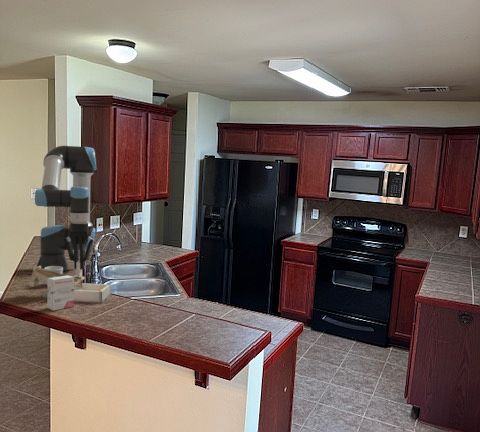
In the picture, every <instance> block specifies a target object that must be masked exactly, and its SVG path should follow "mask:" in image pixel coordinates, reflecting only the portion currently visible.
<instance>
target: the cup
mask: <svg viewBox="0 0 480 432" xmlns="http://www.w3.org/2000/svg"><path fill="white" fill-rule="evenodd" d="M44 269H45V270H49V271H52V272H56V273H59V274H64V271H63V267H61V266H49V267H45V268H44ZM42 280H43V282H44V283H45V285H46V286H48V280H44V279H42Z"/></svg>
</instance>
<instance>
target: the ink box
mask: <svg viewBox="0 0 480 432" xmlns="http://www.w3.org/2000/svg"><path fill="white" fill-rule="evenodd" d="M46 292H47V293H46V294H47V299H46V301H47V306H46V307H47V309H49V310H50V311H58V310H63V309H69V308H73V307H74V306H75V303H74V302H75V301H74V277H73V276H72V275H67V276H60V277H53V278H48V285H47V291H46Z"/></svg>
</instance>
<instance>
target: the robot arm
mask: <svg viewBox="0 0 480 432" xmlns="http://www.w3.org/2000/svg"><path fill="white" fill-rule="evenodd" d="M42 165H43V167H44V170H43V175H42V176H43V177H42V183H41V188H39V189H36V190H35V192H34V204H35V205H36V207H44V208H45V207H46V208H47V207H53V208H55V207H56V208H57V207H58V208H69V209H70V210H69V211H70V213H69V214H70V215H69V217H70V218H69V222H70V223H69V226H68V227H66V225H64V224H54V225H49V226H44V227H43V228H41V229H40V236H39V238H40V254H39V255H40V256H39V259H38V261H37V264H36V267H38V266H41V269H44V268H45V267H49V266H61V267H63V272H66V271H68V270H69V264H68V262H67V258H66V255H65V253H66V251H67V253H68V254H67V255H68V257H69V260H70V261H72V262H73V263H74V266H73V267H74V270H76V271H75V272H76V273H75V275H76V277H81V276H83V270H84V269H85V262H86V261H88V260H89V258H90V255H91V251H92V249H93V247H94V243H95V236H96V228H95V227H93V223H92V222H91V181H92V180H91V177H92V176H93V175H94V173H95V171H97V169H98V168H97V159H96V151H95V148H93V147H88V146H77V145H75V146H74V145H72V146H71V145H59V146H56V147H54V148H52V149H51V150H49V151H48V152H47V153H46V154H45V156H44V158H43V164H42ZM63 169H68V170H69V173H70V174H71V175H72V186H71V187H70V189H61V188H60V187H61V179H62V178H61V177H62V171H63Z"/></svg>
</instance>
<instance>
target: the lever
mask: <svg viewBox="0 0 480 432" xmlns="http://www.w3.org/2000/svg"><path fill="white" fill-rule="evenodd" d="M60 276H67V275H66V274H64V273H62V274H59V273H56V272H52V271H49V270H45V269H41V266H38V267H37V266H36V267H33V268H32V273H31V278H30V282H29V287H33V288H34V287H36V286H38V285H39V283H40V279H41V280H43V279H44V280H48V278H53V277H60ZM72 277H74V290H77V284H80V283H81V282H82V281H84V280H85V279H86V277H85V276H83V275H82V276H81V277H76V274H75V275H73V276H72ZM44 280H43V281H44Z"/></svg>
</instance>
